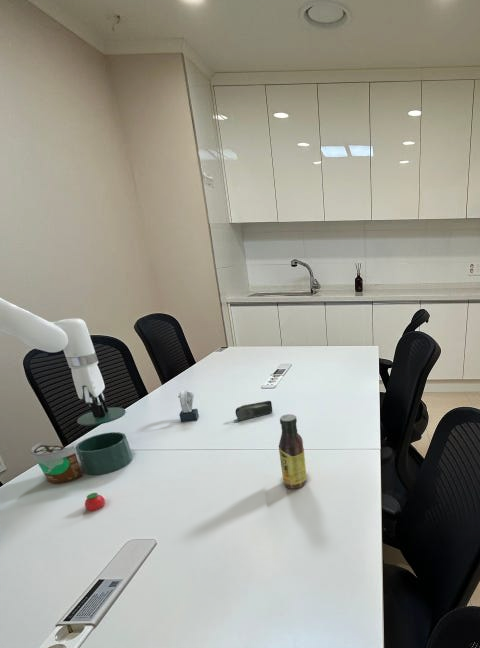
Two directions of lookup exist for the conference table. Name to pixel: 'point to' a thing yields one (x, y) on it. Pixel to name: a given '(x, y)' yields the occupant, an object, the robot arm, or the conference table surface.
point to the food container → (57, 463)
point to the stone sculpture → (187, 407)
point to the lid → (110, 416)
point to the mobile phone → (253, 410)
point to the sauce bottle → (291, 453)
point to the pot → (104, 453)
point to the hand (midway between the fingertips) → (101, 414)
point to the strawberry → (94, 502)
